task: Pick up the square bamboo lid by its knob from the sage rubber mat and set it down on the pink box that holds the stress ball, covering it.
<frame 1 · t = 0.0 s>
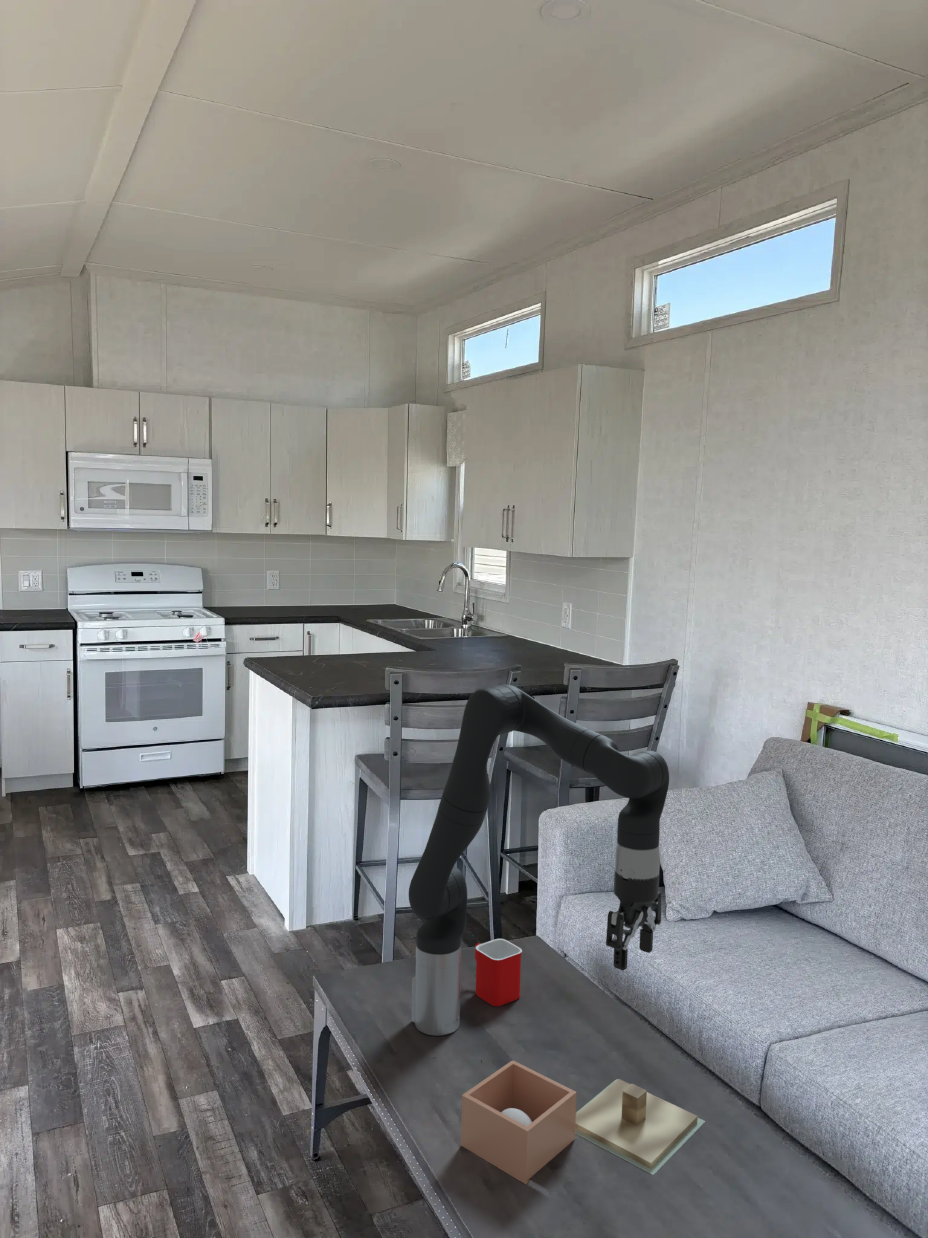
hand: (633, 959, 161), 29 cm above the table, fingers open, 8 cm apart
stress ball: (518, 1145, 157), resting in pink box
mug: (492, 992, 207), on the table
mat: (633, 1126, 162), on the table
pink box: (518, 1144, 157), on the table
lid: (633, 1123, 162), point 1 cm above the table, touching mat
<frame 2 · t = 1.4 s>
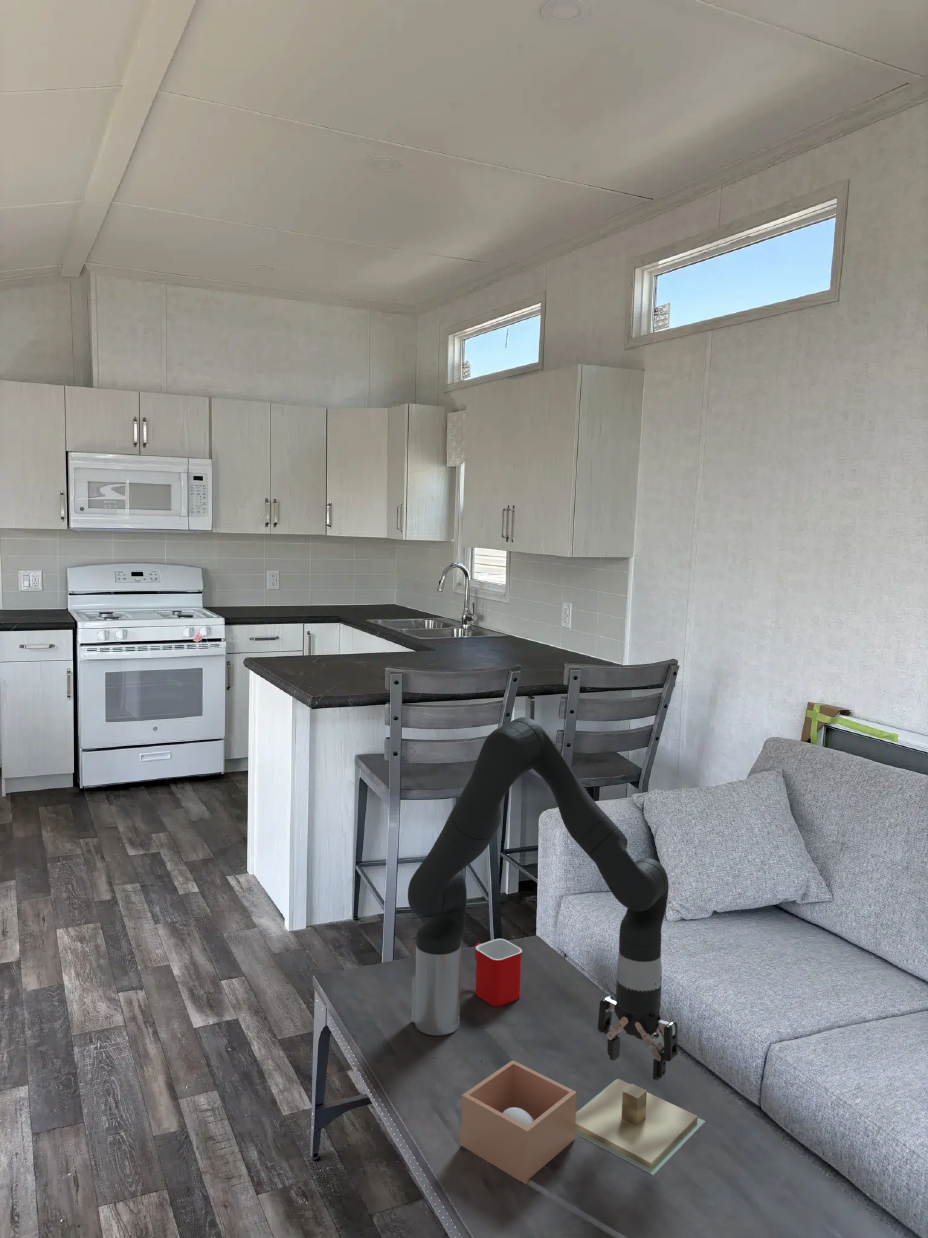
hand: (635, 1068, 160), 11 cm above the table, fingers open, 8 cm apart
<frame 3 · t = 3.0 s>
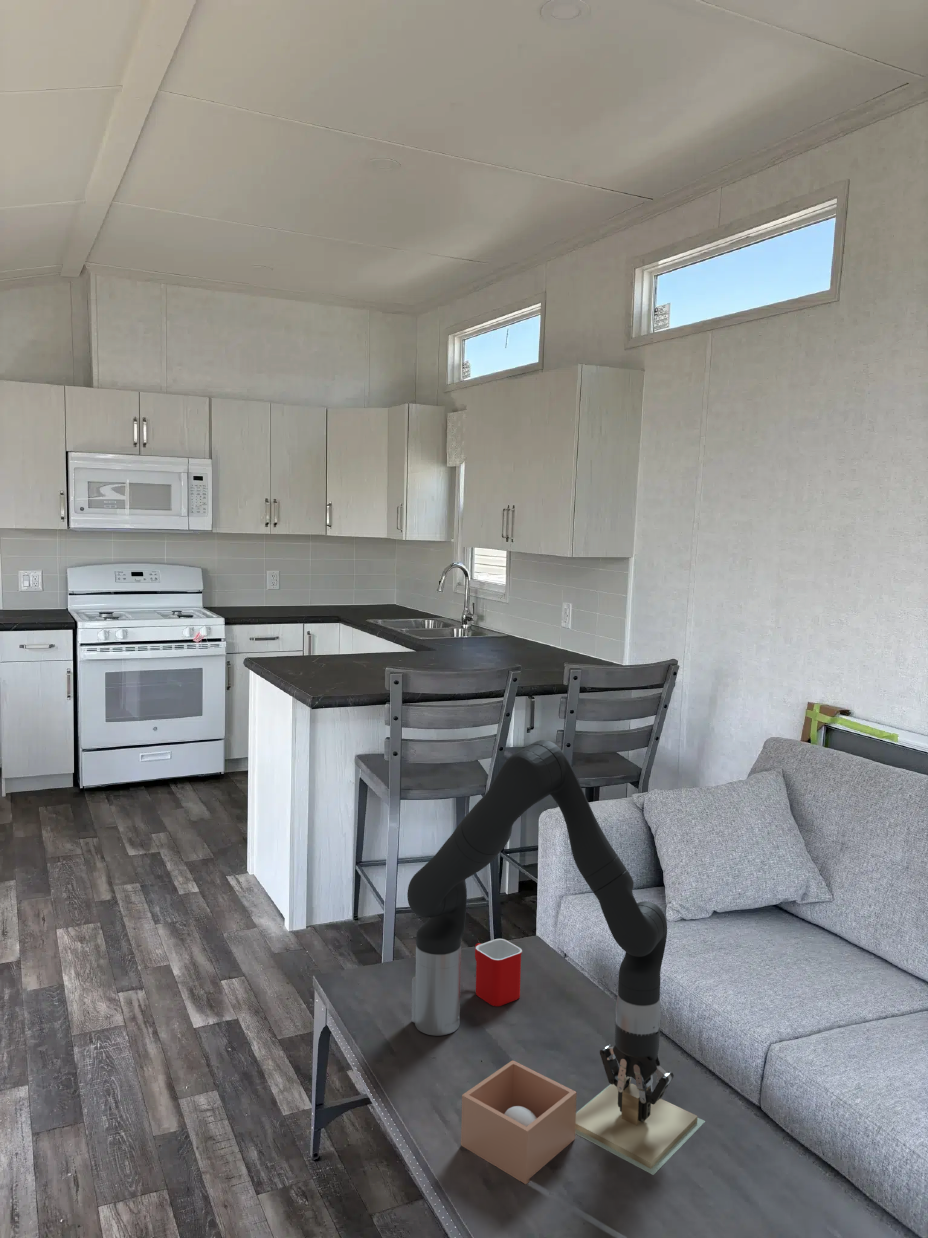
hand: (633, 1114, 162), 2 cm above the table, fingers closed on lid, 3 cm apart
lid: (633, 1123, 162), point 1 cm above the table, touching gripper, mat
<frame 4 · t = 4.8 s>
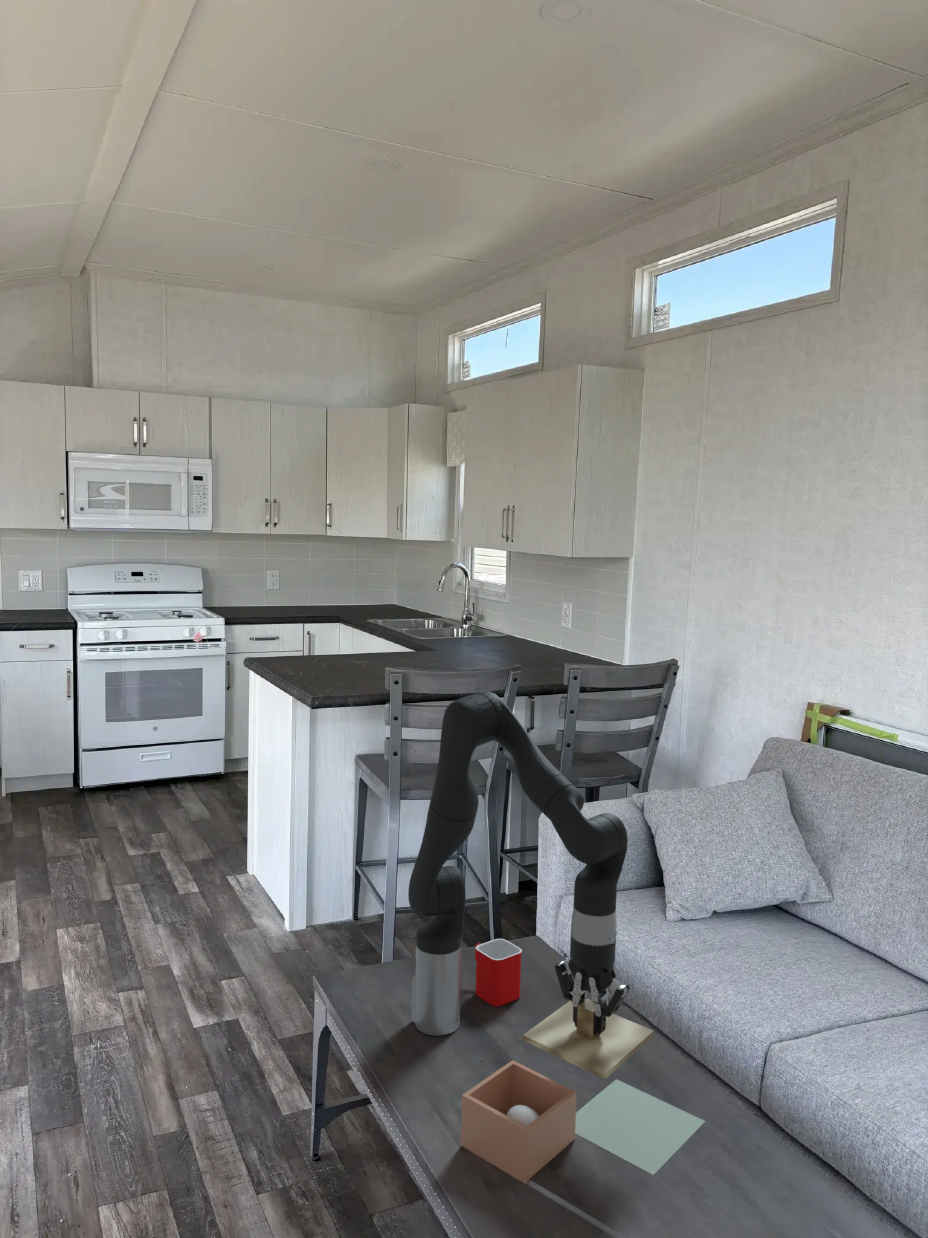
hand: (588, 1029, 159), 18 cm above the table, fingers closed on lid, 3 cm apart
lid: (588, 1038, 159), point 17 cm above the table, touching gripper
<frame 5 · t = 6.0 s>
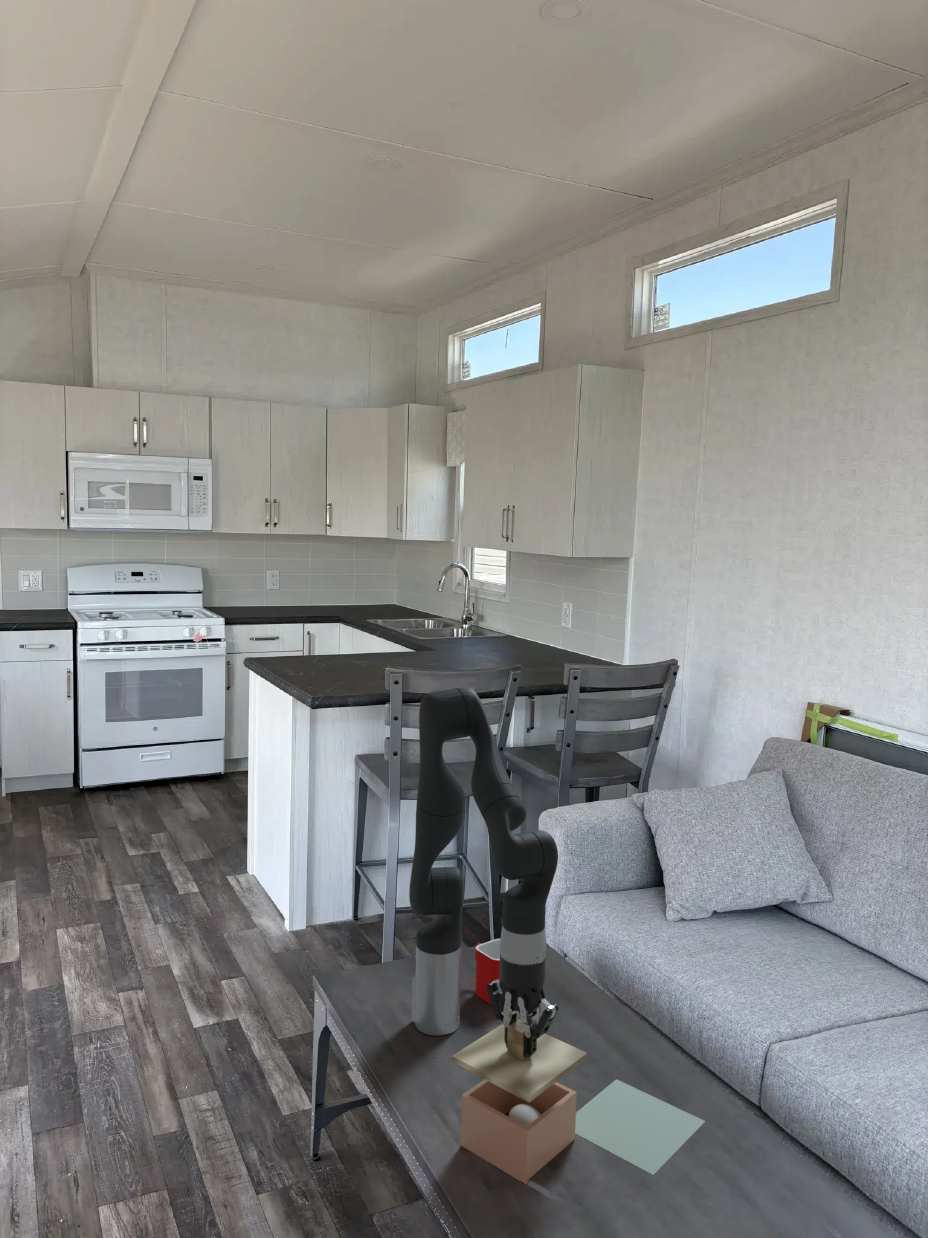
hand: (520, 1051, 155), 17 cm above the table, fingers closed on lid, 3 cm apart
lid: (519, 1060, 155), point 15 cm above the table, touching gripper
when the fingers open (12 cm above the table, at t = 7.0 s): lid drops 1 cm, resting on pink box.
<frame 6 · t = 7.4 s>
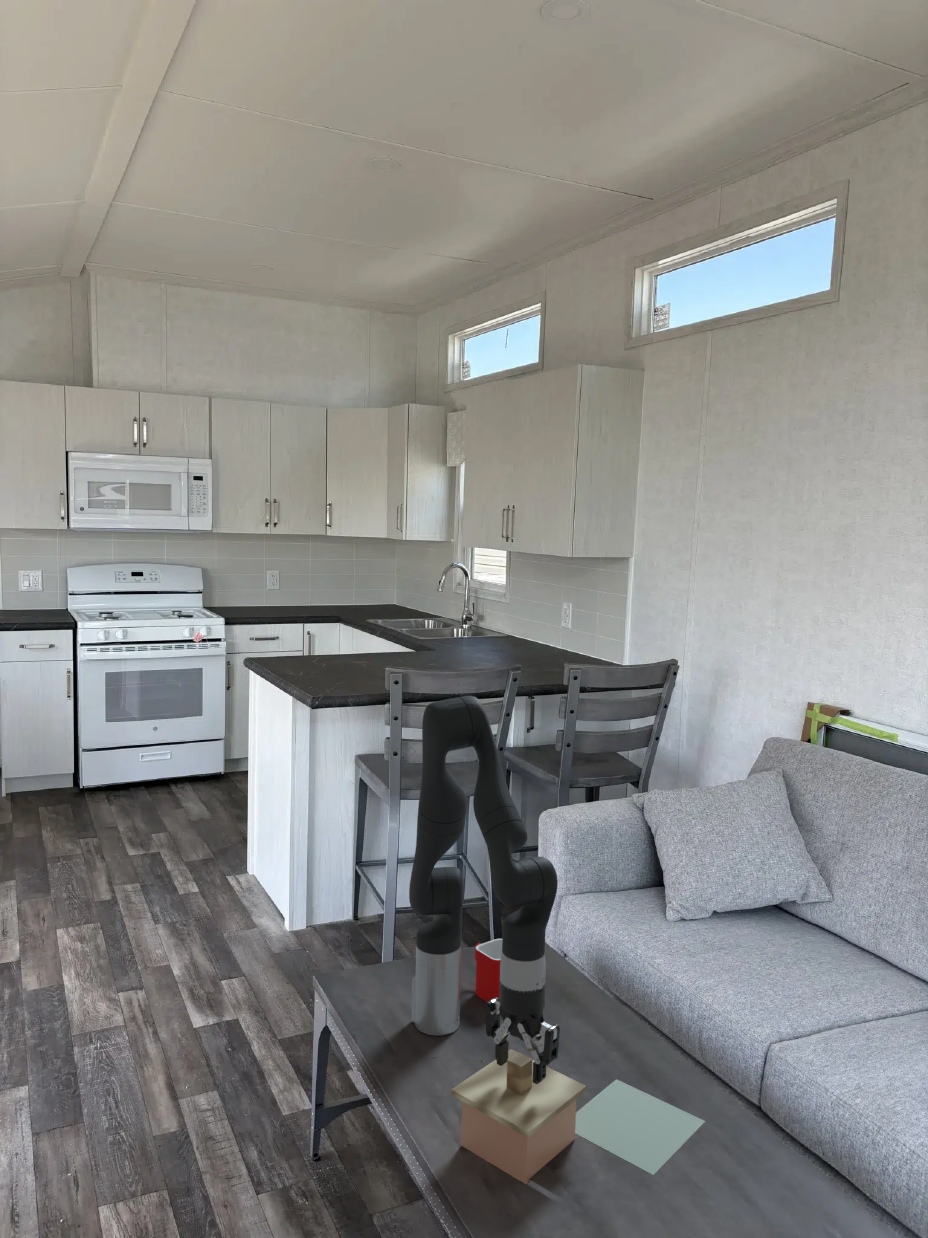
hand: (520, 1072, 156), 13 cm above the table, fingers open, 7 cm apart
lid: (519, 1093, 156), point 9 cm above the table, touching pink box
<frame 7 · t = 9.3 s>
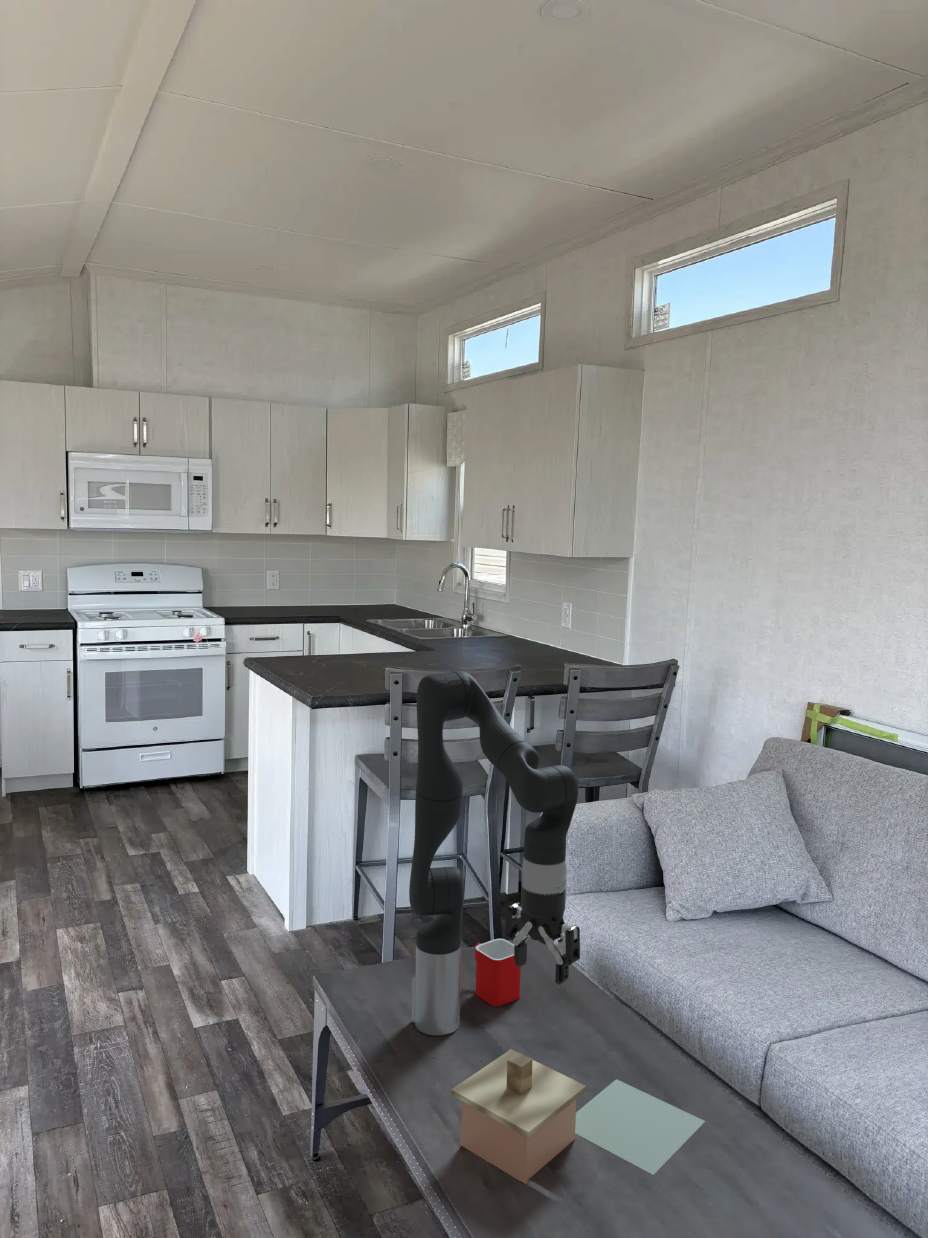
hand: (540, 973, 160), 27 cm above the table, fingers open, 8 cm apart
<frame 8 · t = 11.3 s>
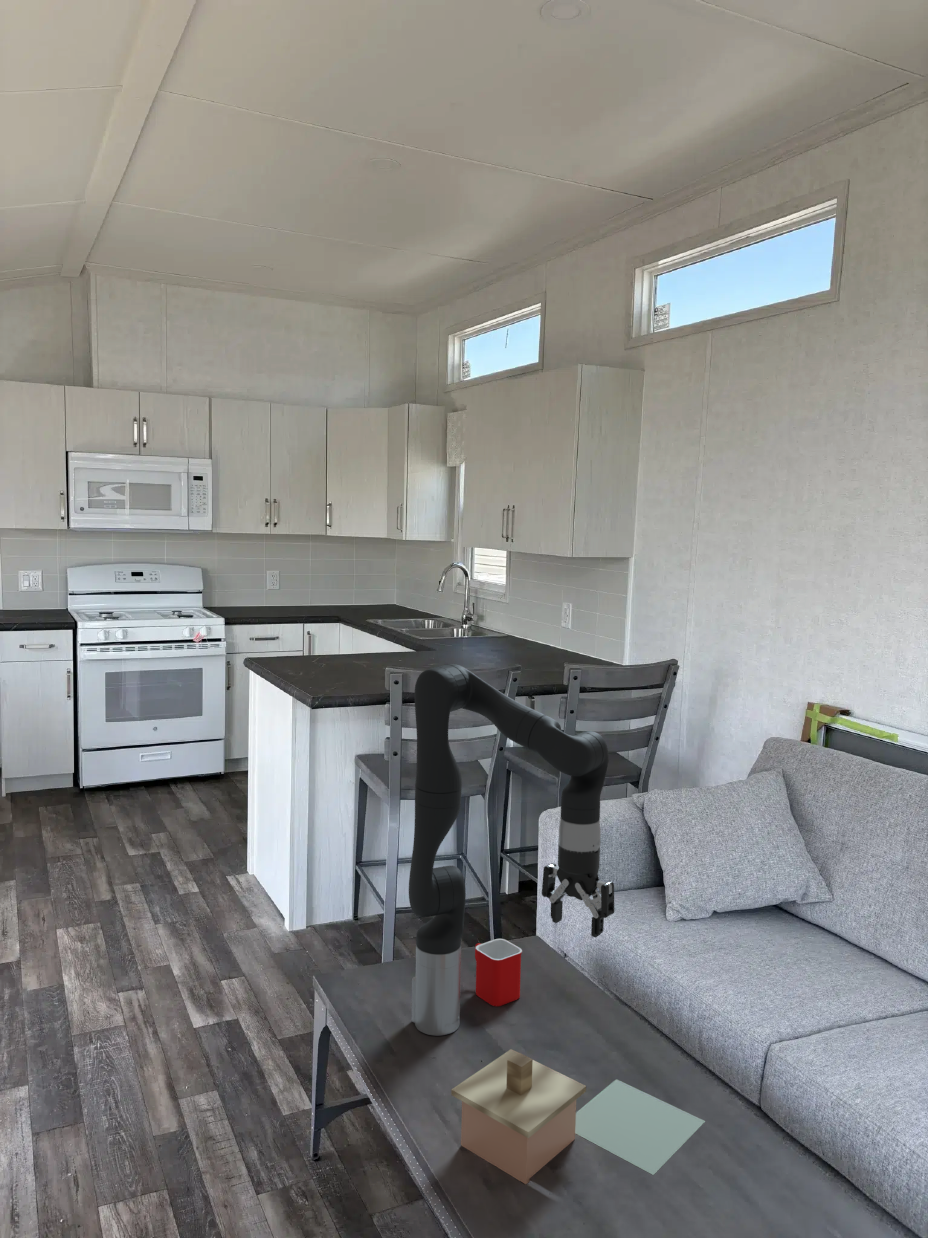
hand: (576, 928, 171), 30 cm above the table, fingers open, 8 cm apart
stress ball: (531, 1140, 158), resting in pink box
everything else where it was.
at the end: lid 0.1 cm off-centre on the pink box, point 9.0 cm above the pink box's base; lid tilted 0°; the gripper is holding nothing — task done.
